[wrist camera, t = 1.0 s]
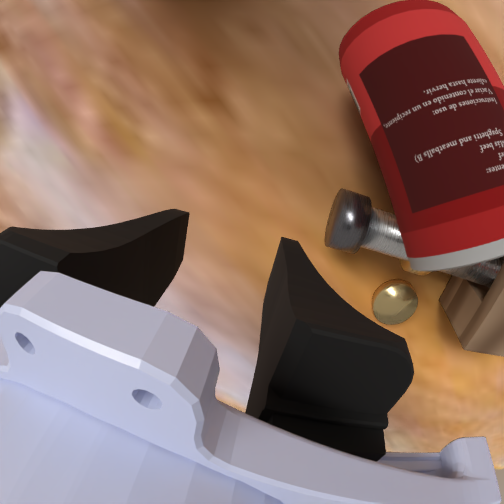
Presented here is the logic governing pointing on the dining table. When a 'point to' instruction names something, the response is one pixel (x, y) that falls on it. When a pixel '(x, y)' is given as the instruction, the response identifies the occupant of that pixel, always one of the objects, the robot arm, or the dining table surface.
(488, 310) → the block
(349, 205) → the shaft
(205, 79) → the dining table surface
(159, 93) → the dining table surface
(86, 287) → the robot arm
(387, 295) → the spacer
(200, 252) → the dining table surface
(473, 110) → the canned food
